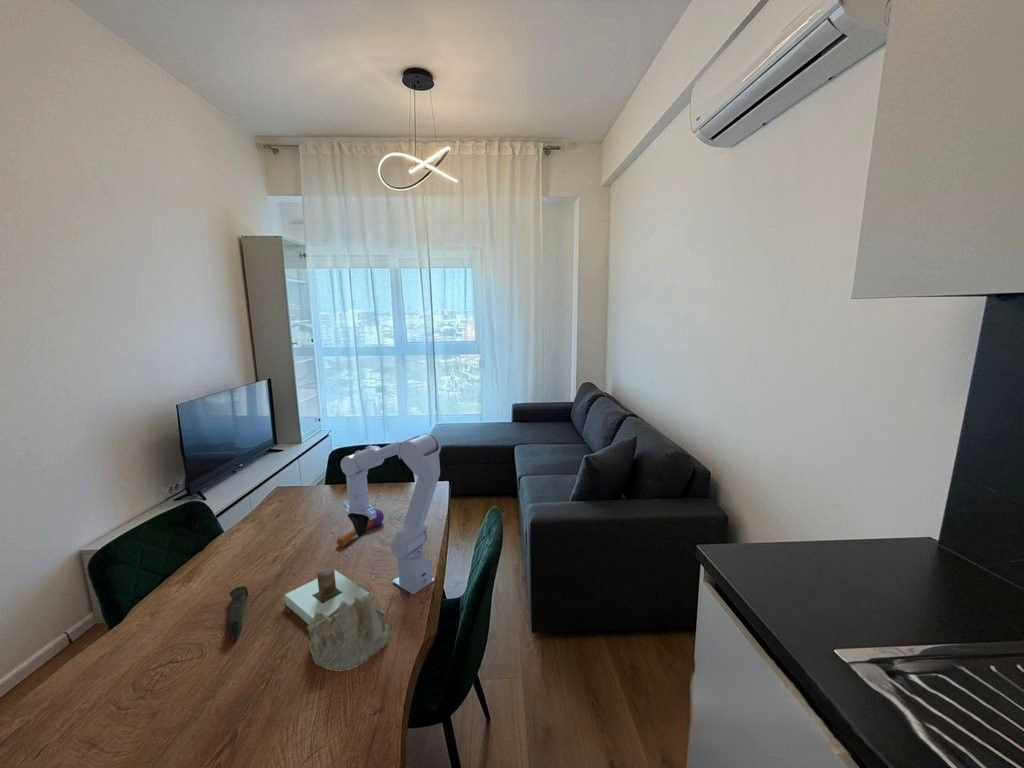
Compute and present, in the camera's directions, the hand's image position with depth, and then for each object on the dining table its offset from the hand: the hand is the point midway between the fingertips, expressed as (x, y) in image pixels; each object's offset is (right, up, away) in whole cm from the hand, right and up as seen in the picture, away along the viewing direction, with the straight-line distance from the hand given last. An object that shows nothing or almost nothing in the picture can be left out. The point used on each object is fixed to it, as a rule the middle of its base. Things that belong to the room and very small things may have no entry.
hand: (361, 534), depth 129 cm
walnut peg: (-3, -13, -15) cm, 20 cm away
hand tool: (-24, -15, -20) cm, 35 cm away
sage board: (-3, -13, -16) cm, 21 cm away
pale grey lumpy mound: (+8, -15, -30) cm, 34 cm away
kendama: (-8, -8, +22) cm, 25 cm away
